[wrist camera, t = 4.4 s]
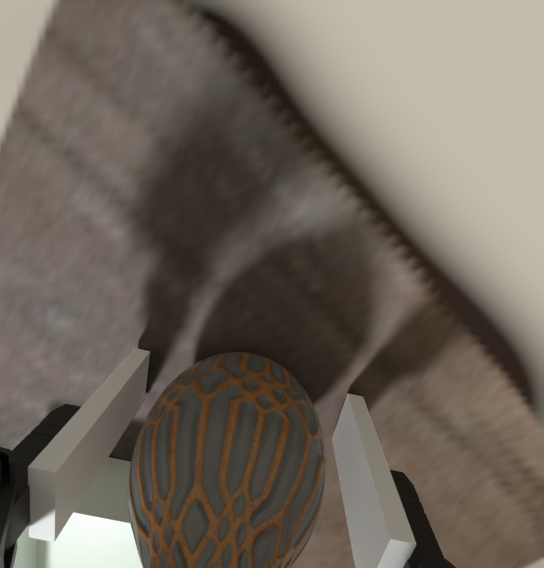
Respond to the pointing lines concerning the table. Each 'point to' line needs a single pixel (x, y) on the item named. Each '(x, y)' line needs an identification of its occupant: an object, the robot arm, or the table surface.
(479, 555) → the table surface
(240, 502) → the vase
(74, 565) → the tray
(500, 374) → the table surface
